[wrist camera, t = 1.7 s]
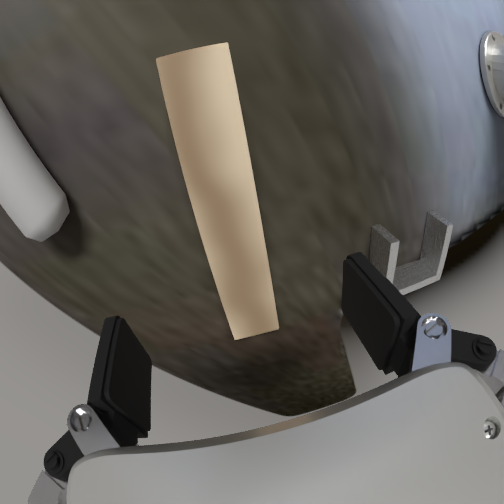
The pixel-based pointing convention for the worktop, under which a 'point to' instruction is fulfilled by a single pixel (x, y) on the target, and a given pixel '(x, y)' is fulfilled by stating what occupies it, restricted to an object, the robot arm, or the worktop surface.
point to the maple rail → (220, 181)
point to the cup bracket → (416, 271)
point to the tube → (28, 185)
